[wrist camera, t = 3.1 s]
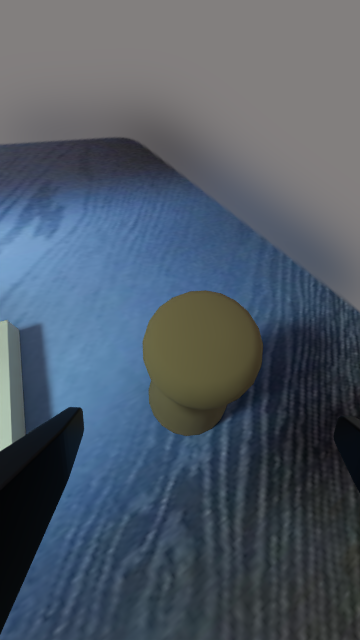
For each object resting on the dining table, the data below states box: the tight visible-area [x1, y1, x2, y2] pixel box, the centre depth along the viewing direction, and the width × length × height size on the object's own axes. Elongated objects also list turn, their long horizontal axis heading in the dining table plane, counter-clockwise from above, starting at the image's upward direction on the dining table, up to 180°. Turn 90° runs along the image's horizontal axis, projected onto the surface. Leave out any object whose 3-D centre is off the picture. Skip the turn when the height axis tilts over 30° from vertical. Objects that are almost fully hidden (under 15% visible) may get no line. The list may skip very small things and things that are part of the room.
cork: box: [143, 291, 263, 436], centre depth 15 cm, size 6×6×11 cm
